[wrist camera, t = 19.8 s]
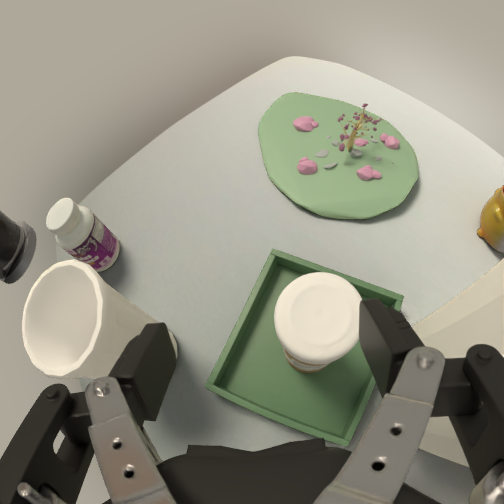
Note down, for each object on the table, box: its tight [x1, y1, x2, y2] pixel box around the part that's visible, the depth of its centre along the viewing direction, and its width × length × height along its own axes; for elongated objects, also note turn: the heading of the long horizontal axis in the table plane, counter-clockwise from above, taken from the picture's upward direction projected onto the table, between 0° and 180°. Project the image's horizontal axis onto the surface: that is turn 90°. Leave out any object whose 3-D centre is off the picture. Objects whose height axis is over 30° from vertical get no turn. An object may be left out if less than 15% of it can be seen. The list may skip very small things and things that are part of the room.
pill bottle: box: [46, 198, 120, 272], centre depth 30 cm, size 5×5×10 cm
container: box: [412, 258, 504, 467], centre depth 14 cm, size 14×14×18 cm
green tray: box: [205, 249, 404, 447], centre depth 25 cm, size 14×13×3 cm
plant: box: [258, 92, 419, 219], centre depth 33 cm, size 25×21×9 cm
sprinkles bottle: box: [274, 272, 362, 373], centre depth 20 cm, size 5×5×14 cm
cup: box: [22, 260, 177, 379], centre depth 22 cm, size 8×8×14 cm
